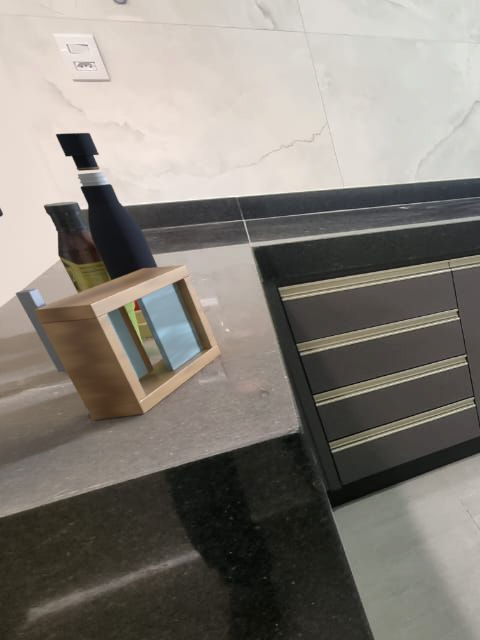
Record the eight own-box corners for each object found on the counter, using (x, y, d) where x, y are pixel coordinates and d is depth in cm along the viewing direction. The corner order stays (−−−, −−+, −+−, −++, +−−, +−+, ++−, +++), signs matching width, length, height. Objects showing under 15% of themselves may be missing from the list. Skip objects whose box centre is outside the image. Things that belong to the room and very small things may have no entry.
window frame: (92, 420, 59) (32, 309, 53) (181, 358, 75) (142, 268, 69) (144, 414, 60) (90, 304, 54) (221, 353, 76) (185, 264, 70)
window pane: (74, 401, 59) (14, 293, 54) (118, 374, 66) (69, 275, 61) (114, 396, 60) (59, 288, 55) (154, 370, 67) (108, 271, 61)
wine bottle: (145, 323, 90) (58, 133, 78) (121, 321, 92) (33, 135, 80) (185, 311, 96) (110, 132, 83) (161, 309, 98) (85, 133, 85)
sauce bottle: (101, 315, 96) (46, 202, 88) (144, 309, 98) (94, 199, 90) (84, 325, 91) (24, 206, 82) (130, 319, 93) (76, 203, 85)
